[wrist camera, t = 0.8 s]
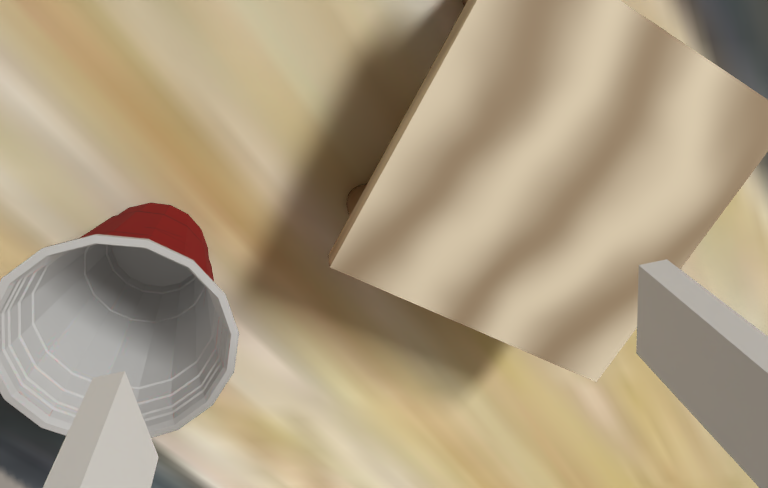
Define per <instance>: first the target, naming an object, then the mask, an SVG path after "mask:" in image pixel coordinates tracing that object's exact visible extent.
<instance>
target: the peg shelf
mask: <svg viewBox="0 0 768 488" xmlns="http://www.w3.org/2000/svg"><path fill="white" fill-rule="evenodd" d="M462 1H463V3H464V5H465V6H464V8H463V10H462V12H461V14H460V15H459V17H458V19H457V21H456V23H455V24H454V26H453V28H452V30H451V32H450V34H449V35H448V37H447V39H446V41H445V43H444V45H443V46H442V48H441V50H440V52H439V54H438V56H437V57H436V59H435V61H434V63H433V65H432V67H431V68H430V70H429V72H428V74H427V76H426V78H425V79H424V81H423V83H422V85H421V87H420V89H419V90H418V92H417V94H416V96H415V98H414V99H413V101H412V103H411V105H410V107H409V109H408V110H407V112H406V114H405V116H404V118H403V120H402V121H401V123H400V125H399V127H398V129H397V131H396V132H395V134H394V136H393V138H392V140H391V142H390V143H389V145H388V147H387V149H386V151H385V153H384V154H383V156H382V158H381V160H380V162H379V164H378V165H377V167H376V169H375V171H374V173H373V174H372V176H371V178H370V180H369V182H368V184H367V185H360V186H358V187H356V188H354V189H353V190H352V191H351V192H350V194H349V195H348V198H347V209H348V213H349V218H348V220H347V222H346V224H345V226H344V228H343V229H342V231H341V233H340V235H339V237H338V239H337V240H336V242H335V244H334V246H333V248H332V249H331V251H330V253H329V255H328V258H329V266H330V268H332V269H335V270H337V271H339V272H342V273H344V274H346V275H349V276H351V277H353V278H355V279H358V280H360V281H362V282H365V283H367V284H369V285H372V286H374V287H376V288H379V289H381V290H383V291H386V292H388V293H390V294H393V295H395V296H397V297H400V298H402V299H404V300H407V301H409V302H411V303H414V304H416V305H418V306H421V307H423V308H425V309H428V310H430V311H432V312H435V313H437V314H439V315H441V316H444V317H446V318H448V319H451V320H453V321H455V322H458V323H460V324H462V325H465V326H467V327H469V328H472V329H474V330H476V331H479V332H481V333H483V334H486V335H488V336H490V337H493V338H495V339H497V340H500V341H502V342H504V343H507V344H509V345H511V346H514V347H516V348H518V349H521V350H523V351H525V352H527V353H530V354H532V355H534V356H537V357H539V358H541V359H544V360H546V361H548V362H551V363H553V364H555V365H558V366H560V367H562V368H565V369H567V370H569V371H572V372H574V373H576V374H579V375H581V376H583V377H586V378H588V379H590V380H593V381H595V382H597V381H598V379H599V378H600V377H601V375H602V374H603V373H604V371H605V370H606V368H607V367H608V366H609V364H610V363H611V362H612V360H613V359H614V358H615V356H616V355H617V354H618V352H619V351H620V350H621V348H622V347H623V346H624V344H625V343H626V342H627V340H628V339H629V337H630V336H631V335H632V333H633V332H634V331H635V329H636V328H637V313H638V274H639V265H642V264H646V263H651V262H656V261H661V260H666V259H667V260H668V261H670V262H671V263H672V264H674V265H675V266H676V267H678V268H679V269H681V267H682V266H683V265H684V263H685V262H686V261H687V259H688V258H689V257H690V255H691V254H692V253H693V251H694V250H695V249H696V247H697V246H698V245H699V243H700V242H701V241H702V239H703V238H704V237H705V235H706V234H707V232H708V231H709V230H710V228H711V227H712V226H713V224H714V223H715V222H716V220H717V219H718V218H719V216H720V215H721V214H722V212H723V211H724V210H725V208H726V207H727V206H728V204H729V203H730V202H731V200H732V199H733V197H734V196H735V195H736V193H737V192H738V191H739V189H740V188H741V187H742V185H743V184H744V183H745V181H746V180H747V179H748V177H749V176H750V175H751V173H752V172H753V171H754V169H755V168H756V166H757V165H758V164H759V162H760V161H761V160H762V158H763V157H764V156H765V154H766V153H767V152H768V100H767V99H766V98H764V97H763V96H761V95H760V94H758V93H757V92H755V91H754V90H752V89H751V88H749V87H748V86H746V85H745V84H743V83H742V82H740V81H739V80H738V79H736V78H735V77H733V76H732V75H730V74H729V73H727V72H726V71H724V70H723V69H721V68H720V67H718V66H717V65H715V64H714V63H712V62H711V61H709V60H708V59H706V58H705V57H703V56H702V55H700V54H699V53H698V52H696V51H695V50H693V49H692V48H690V47H689V46H687V45H686V44H684V43H683V42H681V41H680V40H678V39H677V38H675V37H674V36H672V35H671V34H669V33H668V32H666V31H665V30H663V29H662V28H660V27H659V26H658V25H656V24H655V23H653V22H652V21H650V20H649V19H647V18H646V17H644V16H643V15H641V14H640V13H638V12H637V11H635V10H634V9H632V8H631V7H629V6H628V5H626V4H625V3H623V2H622V1H620V0H462Z"/></svg>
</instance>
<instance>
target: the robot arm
mask: <svg viewBox="0 0 768 488" xmlns="http://www.w3.org/2000/svg"><path fill="white" fill-rule="evenodd" d="M637 354H638V356H639V357H640V358H641V359H642V360H643V361H644V362H645V363H646V364H647V365H648V366H649V368H650V369H651V370H652V371H653V372H654V373H655V374H656V375H657V376H658V377H659V378H660V380H661V381H662V382H663V383H664V384H665V385H666V386H667V387H668V388H669V389H670V390H671V392H672V393H673V394H674V395H675V396H676V397H677V398H678V399H679V400H680V401H681V403H682V404H683V405H684V406H685V407H686V408H687V409H688V410H689V411H690V412H691V413H692V415H693V416H694V417H695V418H696V419H697V420H698V421H699V422H700V423H701V424H702V425H703V427H704V428H705V429H706V430H707V431H708V432H709V433H710V434H711V435H712V436H713V437H714V439H715V440H716V441H717V442H718V443H719V444H720V445H721V446H722V447H723V448H724V449H725V451H726V452H727V453H728V454H729V455H730V456H731V457H732V458H733V459H734V460H735V461H736V463H737V464H738V465H739V466H740V467H741V468H742V469H743V470H744V471H745V472H746V473H747V475H748V476H749V477H750V478H751V479H752V480H753V481H754V482H755V483H756V484H757V486H758V487H759V488H768V336H767V335H765V334H764V333H763V332H762V331H760V330H759V329H758V328H756V327H755V326H754V325H752V324H751V323H750V322H748V321H747V320H746V319H744V318H743V317H742V316H741V315H739V314H738V313H737V312H735V311H734V310H733V309H731V308H730V307H729V306H727V305H726V304H725V303H723V302H722V301H721V300H720V299H718V298H717V297H716V296H714V295H713V294H712V293H710V292H709V291H708V290H706V289H705V288H704V287H702V286H701V285H700V284H699V283H697V282H696V281H695V280H693V279H692V278H691V277H689V276H688V275H687V274H685V273H684V272H683V271H682V270H680V269H679V268H678V267H676V266H675V265H674V264H672V263H671V262H670V261H668V260H667V259H666V260H661V261H656V262H651V263H646V264H642V265H639V274H638V313H637ZM157 461H158V455H157V452H156V450H155V447H154V444H153V442H152V439H151V437H150V434H149V432H148V429H147V426H146V424H145V421H144V419H143V416H142V414H141V411H140V408H139V406H138V403H137V401H136V398H135V396H134V393H133V390H132V388H131V385H130V383H129V380H128V378H127V375H126V372H125V371H123V372H118V373H113V374H108V375H103V376H99V377H94V378H93V379H92V381H91V383H90V385H89V387H88V390H87V392H86V394H85V396H84V398H83V401H82V403H81V405H80V407H79V409H78V412H77V414H76V416H75V418H74V420H73V423H72V425H71V427H70V429H69V431H68V433H67V436H66V438H65V440H64V442H63V444H62V447H61V449H60V451H59V453H58V455H57V458H56V460H55V462H54V464H53V466H52V469H51V471H50V473H49V475H48V477H47V480H46V482H45V484H44V486H43V488H151V485H152V481H153V477H154V473H155V469H156V465H157Z"/></svg>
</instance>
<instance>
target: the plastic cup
mask: <svg viewBox="0 0 768 488" xmlns="http://www.w3.org/2000/svg"><path fill="white" fill-rule="evenodd" d="M238 337H239V332H238V329H237V326H236V323H235V320H234V317H233V314H232V312H231V309H230V306H229V303H228V300H227V297H226V294H225V293H224V292H223V291H222V290H221V289H220V288H219V287H218V286H217V285H216V283H215V282H214V279H213V273H212V267H211V264H210V261H209V256H208V247H207V244H206V242H205V239H204V236H203V233H202V230H201V229H200V227H199V226H198V225H197V224H196V223H195V222H194V221H193V219H192V218H191V217H190V216H189V215H188V214H186V213H184V212H183V211H181V210H179V209H177V208H175V207H173V206H171V205H164V204H157V203H148V204H143V205H139V206H135V207H130V208H128V209H126V210H125V211H123V212H122V213H121V214H119V215H117V216H113V217H111V218H110V219H108V220H107V221H105V222H104V223H102V224H101V225H99V226H97V227H96V228H94V229H93V230H91V231H90V232H88V233H87V234H85V235H84V236H82V237H81V238H79V239H75V240H71V241H67V242H63V243H59V244H55V245H51V246H47V247H45V248H42V249H41V250H39V251H38V252H37V253H35V254H34V255H33V256H31V257H30V258H29V259H27V260H26V261H24V262H23V263H22V264H20V265H19V266H18V267H16V268H15V269H14V270H12V271H11V272H10V273H8V274H7V275H6V276H4V277H3V278H2V279H1V281H0V393H1V395H2V396H3V398H4V400H6V401H7V402H8V403H10V404H11V405H12V406H13V407H15V408H16V409H17V410H19V411H20V412H21V413H23V414H24V415H25V416H27V417H28V418H29V419H31V420H32V421H33V422H35V423H36V424H37V425H38V426H40V427H41V428H44V429H47V430H50V431H53V432H56V433H59V434H63V435H66V436H67V433H68V431H69V429H70V427H71V425H72V423H73V420H74V418H75V416H76V414H77V412H78V409H79V407H80V405H81V403H82V401H83V398H84V396H85V394H86V392H87V390H88V387H89V385H90V383H91V381H92V379H93V378H94V377H99V376H103V375H108V374H113V373H118V372H123V371H125V372H126V375H127V378H128V380H129V383H130V385H131V388H132V390H133V393H134V396H135V398H136V401H137V403H138V406H139V408H140V411H141V414H142V416H143V419H144V421H145V424H146V426H147V429H148V432H149V434H150V437H151V438H152V437H156V436H159V435H162V434H166V433H169V432H172V431H176V430H178V429H180V428H181V427H183V426H184V425H185V424H187V423H188V422H190V421H191V420H193V419H194V418H195V417H197V416H198V415H200V414H201V413H202V412H204V411H205V410H207V409H208V408H209V407H211V406H212V405H213V404H214V402H215V401H216V399H217V398H218V396H219V394H220V393H221V391H222V390H223V388H224V387H225V385H226V384H227V382H228V380H229V379H230V377H231V376H232V374H233V373H234V368H235V361H236V353H237V345H238Z"/></svg>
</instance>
